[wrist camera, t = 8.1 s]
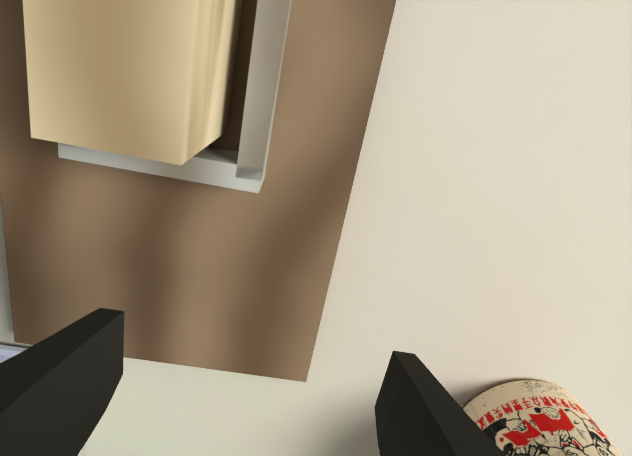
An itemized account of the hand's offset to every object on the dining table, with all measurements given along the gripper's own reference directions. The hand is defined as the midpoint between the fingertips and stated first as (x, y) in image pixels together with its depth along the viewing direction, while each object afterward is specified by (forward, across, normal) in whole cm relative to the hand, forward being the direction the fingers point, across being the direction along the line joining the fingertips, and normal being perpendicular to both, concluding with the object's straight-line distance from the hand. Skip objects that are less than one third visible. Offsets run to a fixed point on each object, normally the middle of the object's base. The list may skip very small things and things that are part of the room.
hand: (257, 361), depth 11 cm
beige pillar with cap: (+9, +5, -8) cm, 14 cm away
